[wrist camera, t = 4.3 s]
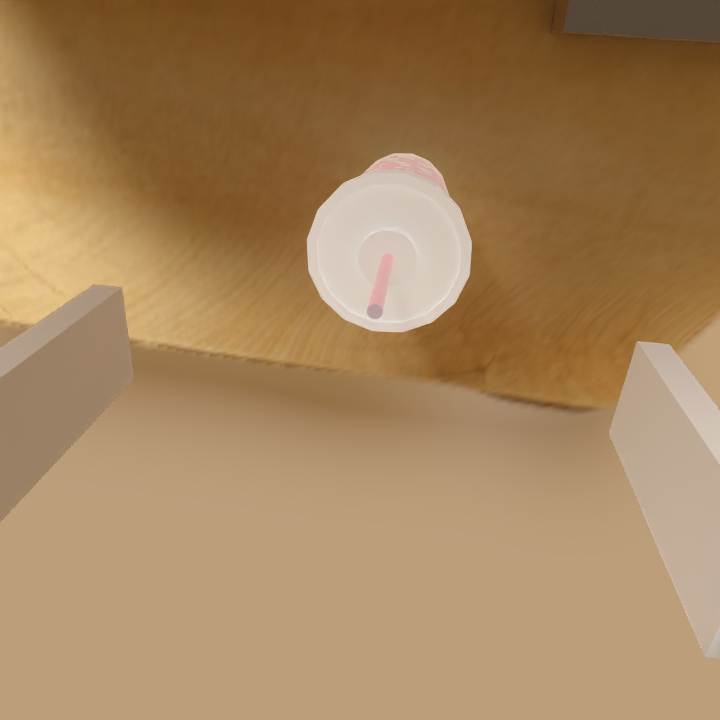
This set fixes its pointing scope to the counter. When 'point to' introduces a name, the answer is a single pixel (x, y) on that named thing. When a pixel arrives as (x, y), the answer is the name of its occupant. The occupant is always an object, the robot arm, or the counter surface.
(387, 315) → the beverage cup
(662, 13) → the socket collar
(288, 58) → the counter surface
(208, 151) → the counter surface
